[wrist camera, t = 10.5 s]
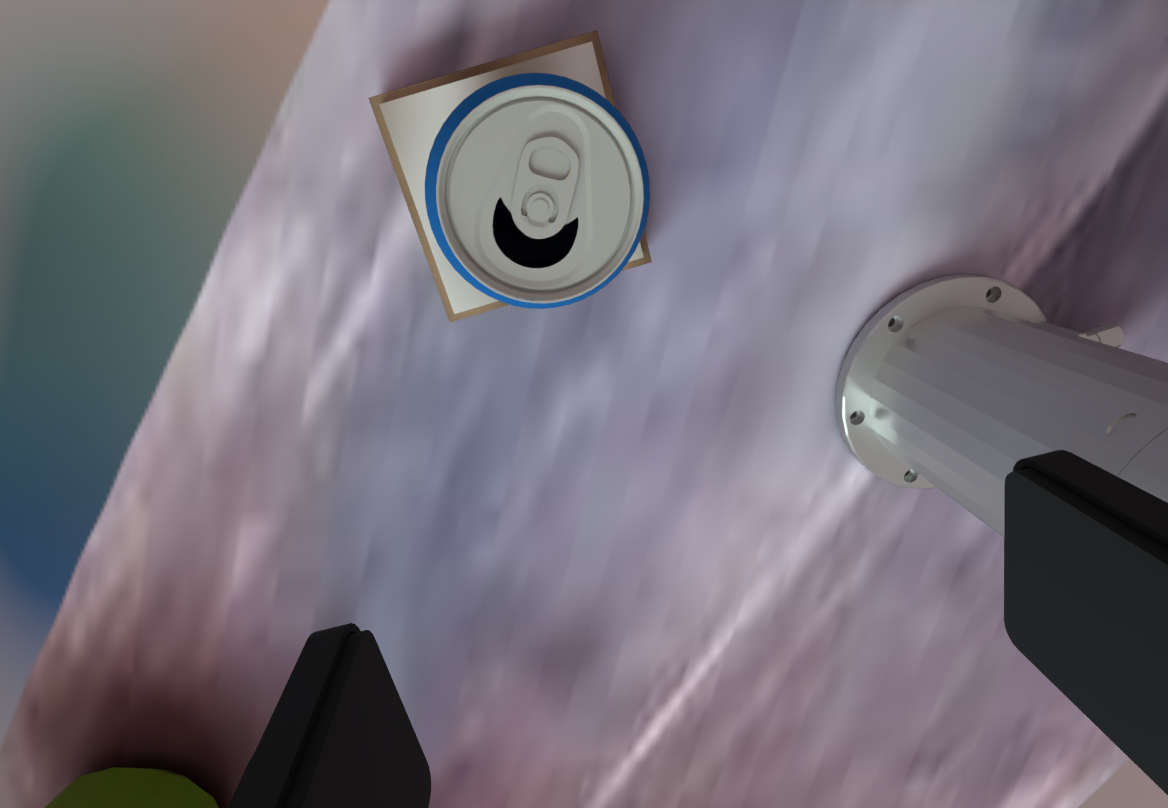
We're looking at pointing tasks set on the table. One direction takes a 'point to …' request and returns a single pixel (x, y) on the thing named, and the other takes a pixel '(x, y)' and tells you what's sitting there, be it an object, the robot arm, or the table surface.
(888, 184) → the table surface
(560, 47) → the pedestal
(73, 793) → the apple
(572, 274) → the beverage can
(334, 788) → the robot arm
